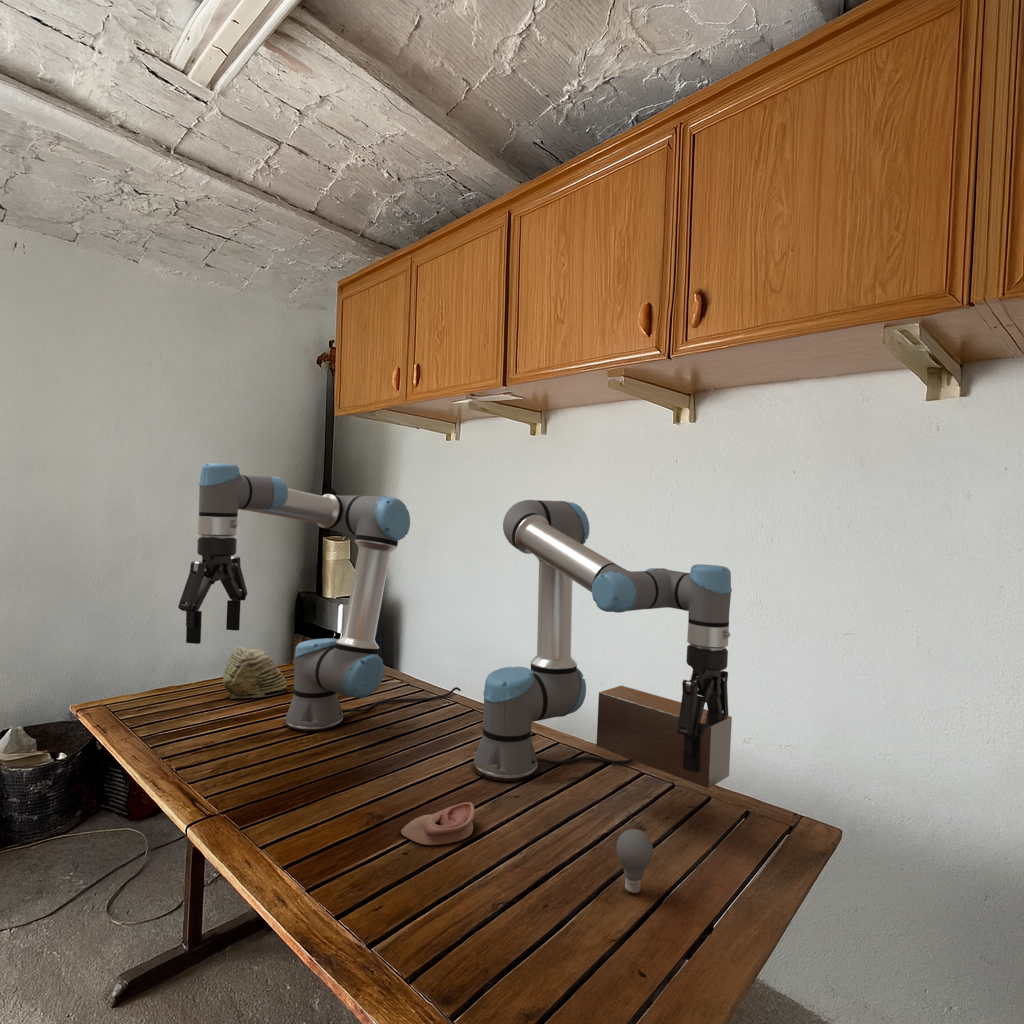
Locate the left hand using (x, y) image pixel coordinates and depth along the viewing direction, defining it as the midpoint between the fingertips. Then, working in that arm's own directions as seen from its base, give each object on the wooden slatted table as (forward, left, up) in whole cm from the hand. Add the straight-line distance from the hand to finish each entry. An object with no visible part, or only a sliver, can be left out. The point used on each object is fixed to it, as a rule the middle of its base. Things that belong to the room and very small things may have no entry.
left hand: (214, 636), depth 135 cm
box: (-53, +78, -20) cm, 96 cm away
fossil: (-39, -52, -33) cm, 73 cm away
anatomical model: (-21, +48, -33) cm, 62 cm away
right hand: (-52, +87, -17) cm, 103 cm away
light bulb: (-30, +85, -33) cm, 96 cm away
